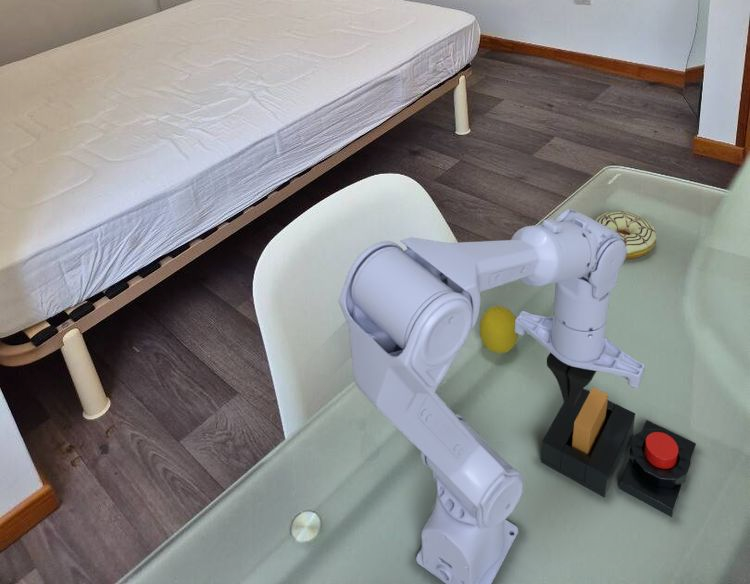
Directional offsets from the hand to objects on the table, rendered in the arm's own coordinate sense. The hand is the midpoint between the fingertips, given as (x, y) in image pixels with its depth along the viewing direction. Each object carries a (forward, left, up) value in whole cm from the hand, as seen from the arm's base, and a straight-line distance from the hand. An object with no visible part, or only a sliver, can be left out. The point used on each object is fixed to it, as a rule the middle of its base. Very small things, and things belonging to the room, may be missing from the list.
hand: (571, 398), depth 82 cm
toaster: (+2, -2, -10) cm, 10 cm away
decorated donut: (+43, +8, -10) cm, 45 cm away
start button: (+4, -10, -7) cm, 13 cm away
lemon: (+10, +15, -10) cm, 20 cm away
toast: (+2, -2, -9) cm, 9 cm away
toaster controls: (+4, -10, -10) cm, 14 cm away
